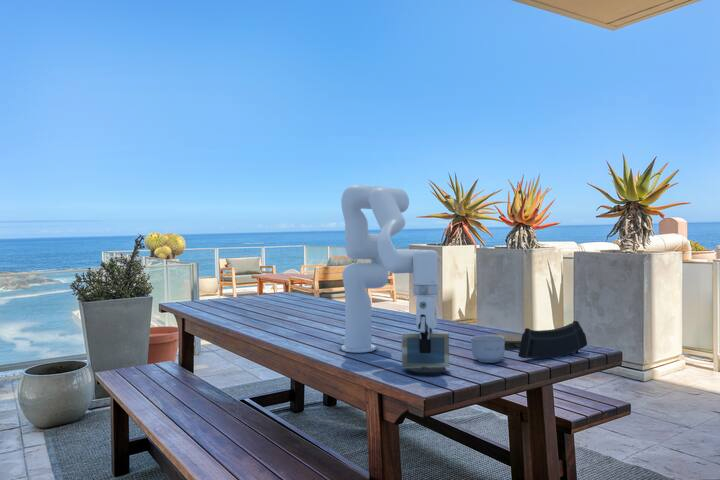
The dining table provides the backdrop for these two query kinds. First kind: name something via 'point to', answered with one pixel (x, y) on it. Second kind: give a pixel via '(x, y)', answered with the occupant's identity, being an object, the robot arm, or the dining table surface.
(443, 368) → the stand
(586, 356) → the dining table surface
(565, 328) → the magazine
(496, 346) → the teacup
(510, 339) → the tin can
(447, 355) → the frame
